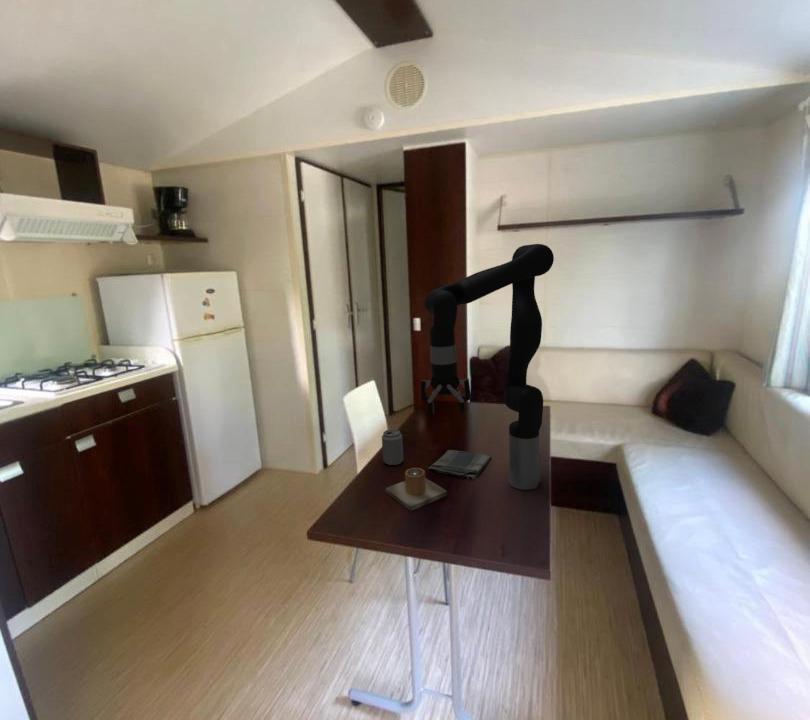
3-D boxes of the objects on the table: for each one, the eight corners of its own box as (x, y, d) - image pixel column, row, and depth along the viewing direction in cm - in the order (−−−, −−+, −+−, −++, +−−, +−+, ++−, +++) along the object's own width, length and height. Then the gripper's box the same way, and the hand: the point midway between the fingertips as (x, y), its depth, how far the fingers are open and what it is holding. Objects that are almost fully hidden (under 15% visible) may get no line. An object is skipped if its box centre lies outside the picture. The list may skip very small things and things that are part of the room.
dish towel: (448, 452, 166) (447, 444, 166) (492, 460, 158) (492, 452, 157) (426, 473, 151) (426, 464, 150) (474, 483, 142) (474, 474, 141)
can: (391, 456, 165) (389, 426, 162) (407, 460, 160) (405, 430, 158) (379, 463, 159) (377, 433, 156) (395, 468, 154) (393, 437, 152)
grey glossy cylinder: (416, 486, 138) (415, 468, 137) (422, 490, 135) (421, 472, 134) (408, 489, 136) (407, 472, 135) (414, 493, 134) (413, 475, 132)
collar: (408, 484, 139) (407, 467, 138) (426, 485, 138) (425, 468, 137) (404, 494, 134) (403, 476, 132) (423, 495, 132) (423, 477, 131)
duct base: (420, 478, 146) (420, 474, 145) (447, 495, 134) (446, 491, 134) (385, 492, 138) (385, 488, 138) (410, 511, 127) (410, 506, 126)
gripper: (469, 356, 125) (471, 409, 128) (421, 358, 128) (424, 409, 131) (468, 362, 117) (470, 418, 121) (417, 364, 120) (421, 418, 124)
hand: (446, 413), depth 126 cm, fingers open, 8 cm apart
